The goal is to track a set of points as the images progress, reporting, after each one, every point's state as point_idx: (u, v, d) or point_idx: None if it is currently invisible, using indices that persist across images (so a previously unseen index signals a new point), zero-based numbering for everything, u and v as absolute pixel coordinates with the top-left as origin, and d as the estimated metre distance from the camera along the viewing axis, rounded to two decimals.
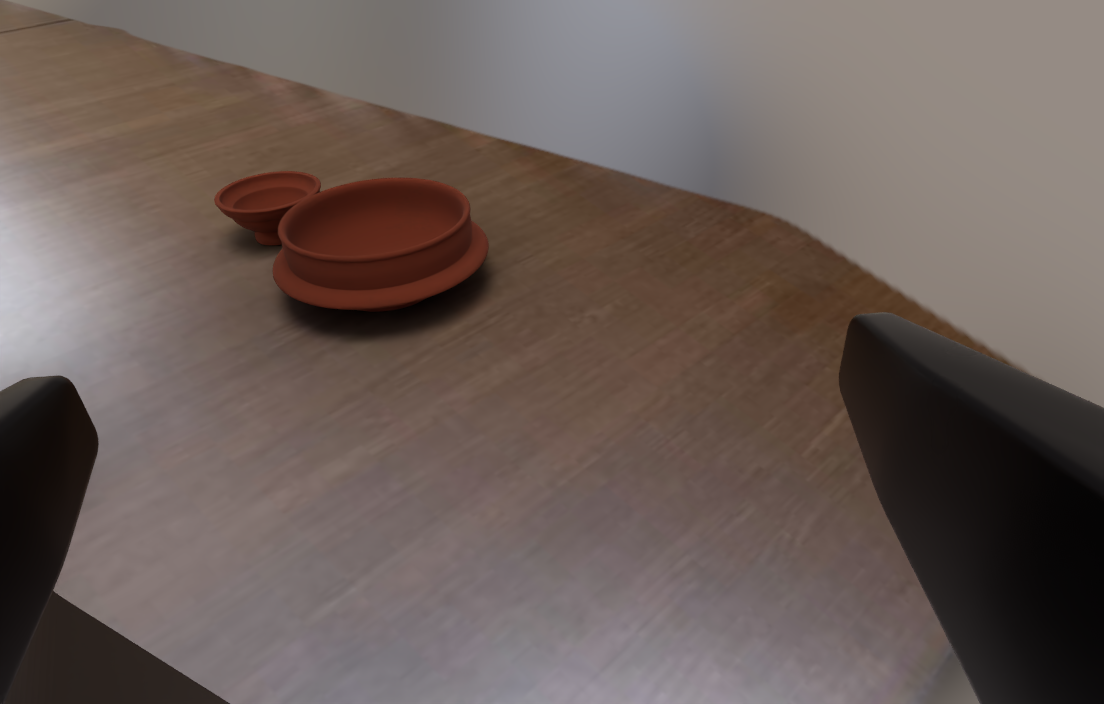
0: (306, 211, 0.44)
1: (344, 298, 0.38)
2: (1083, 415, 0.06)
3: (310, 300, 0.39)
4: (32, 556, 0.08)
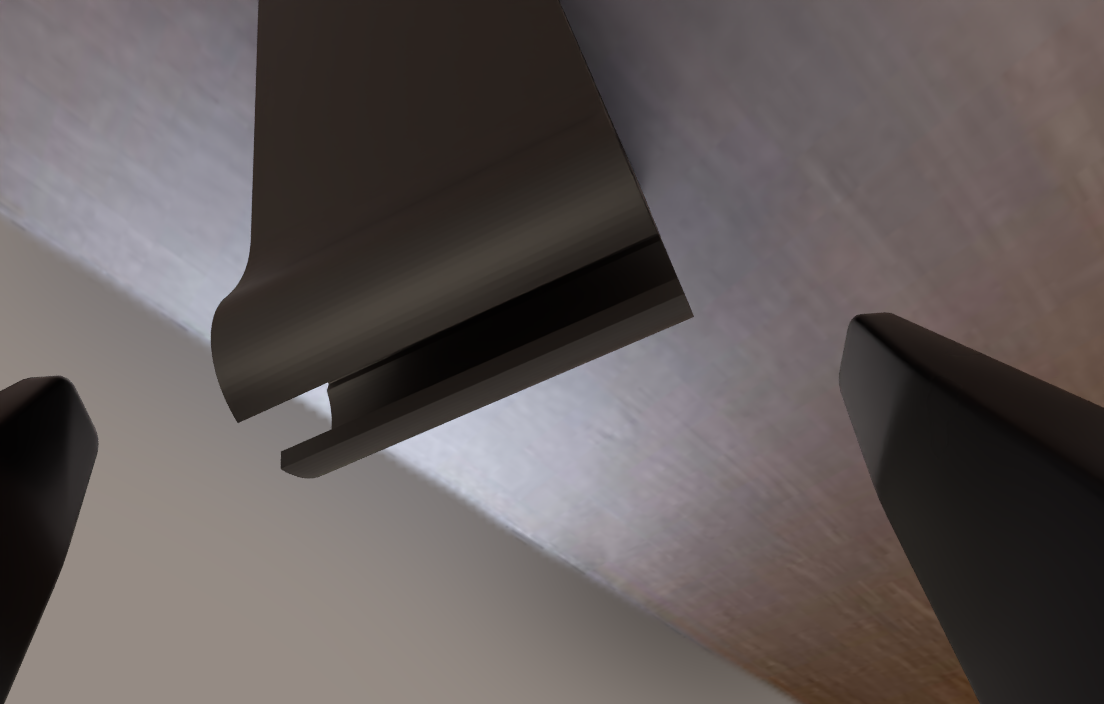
0: None
1: None
2: (1083, 415, 0.06)
3: None
4: (32, 556, 0.08)
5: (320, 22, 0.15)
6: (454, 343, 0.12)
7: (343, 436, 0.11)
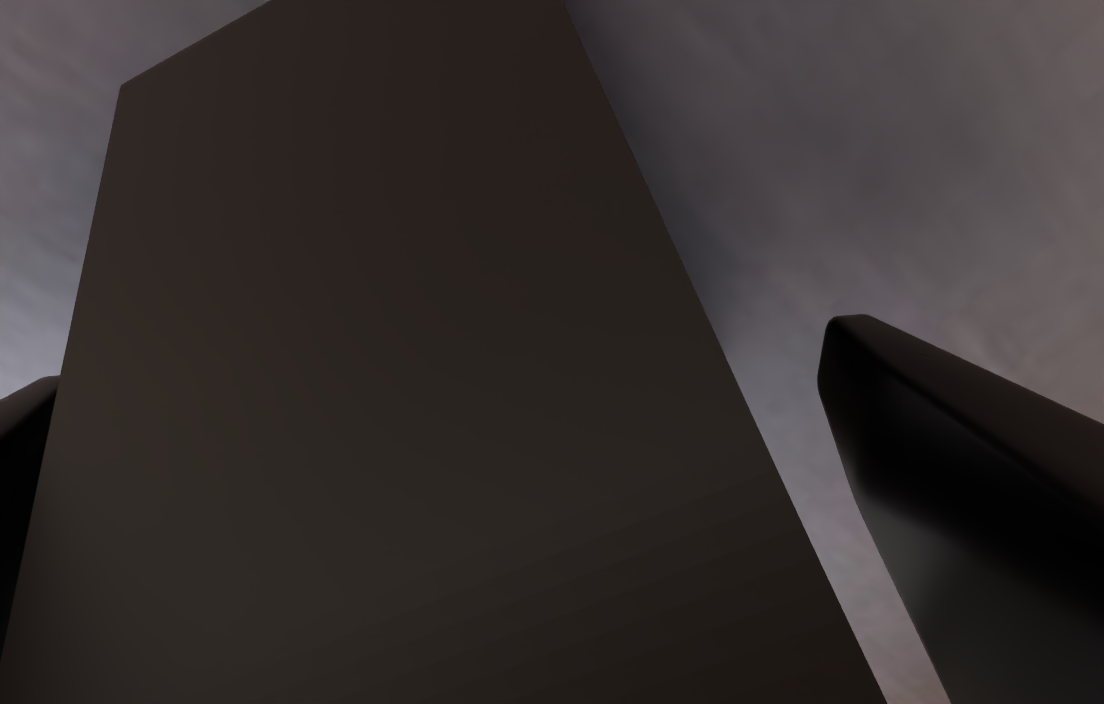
0: None
1: None
2: (1052, 417, 0.06)
3: None
4: None
5: (197, 186, 0.09)
6: None
7: None
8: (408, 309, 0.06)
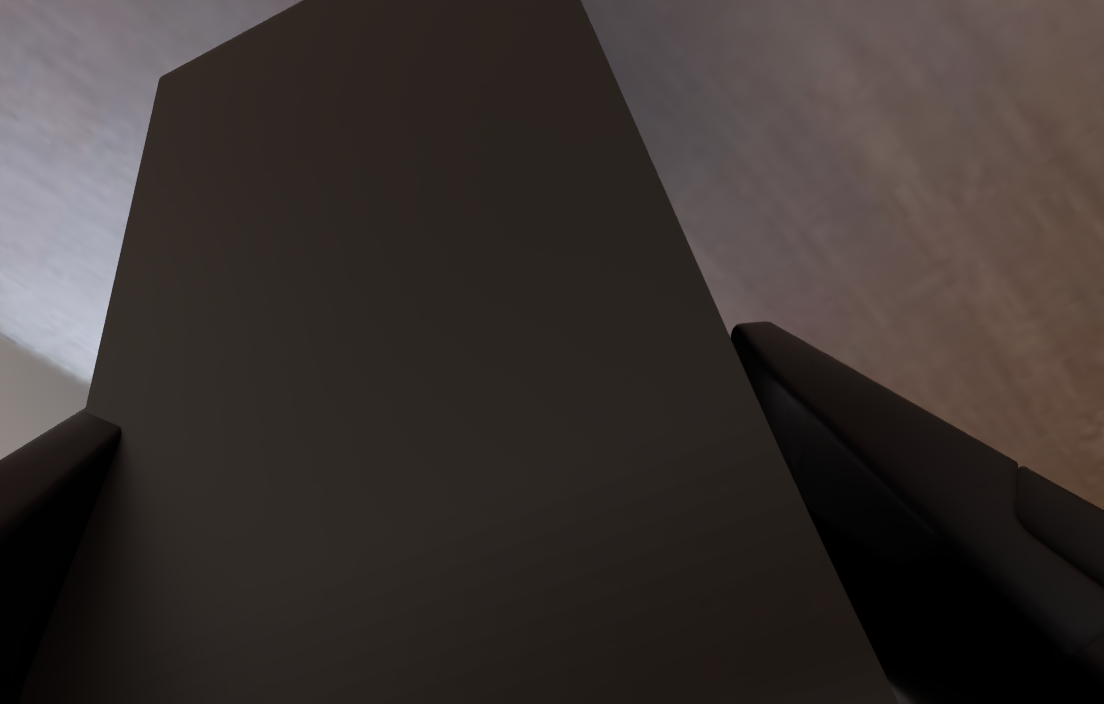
0: None
1: None
2: (920, 428, 0.06)
3: None
4: None
5: (233, 171, 0.09)
6: None
7: None
8: (430, 282, 0.07)
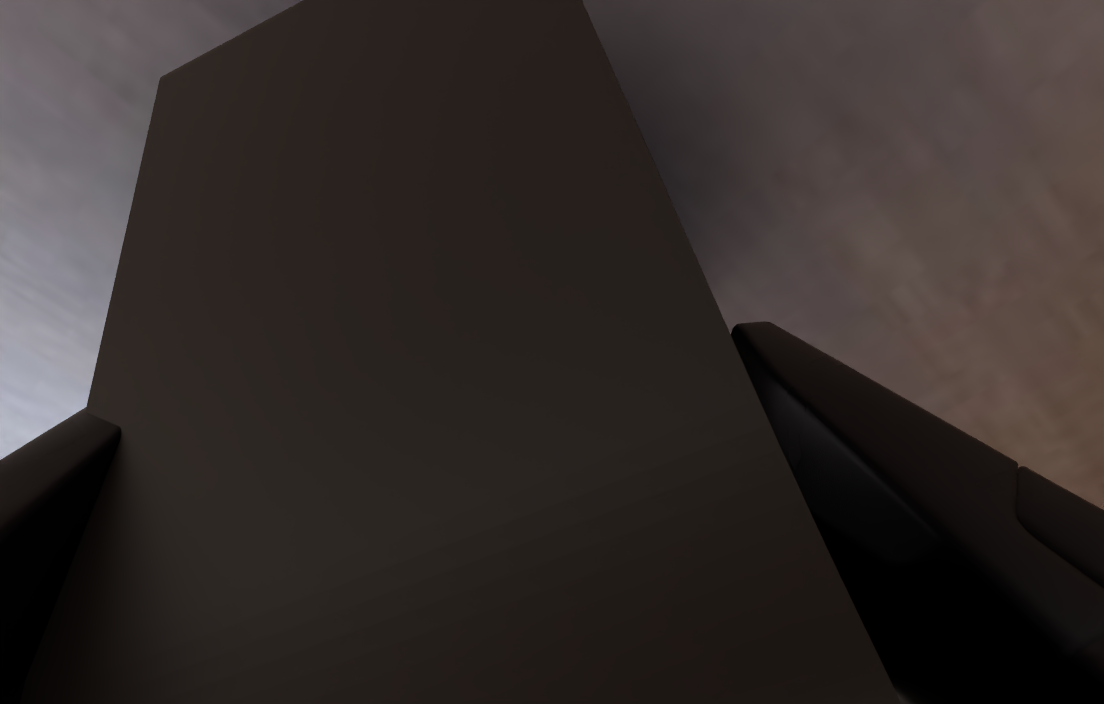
0: None
1: None
2: (920, 429, 0.06)
3: None
4: None
5: (233, 172, 0.09)
6: None
7: None
8: (431, 283, 0.07)
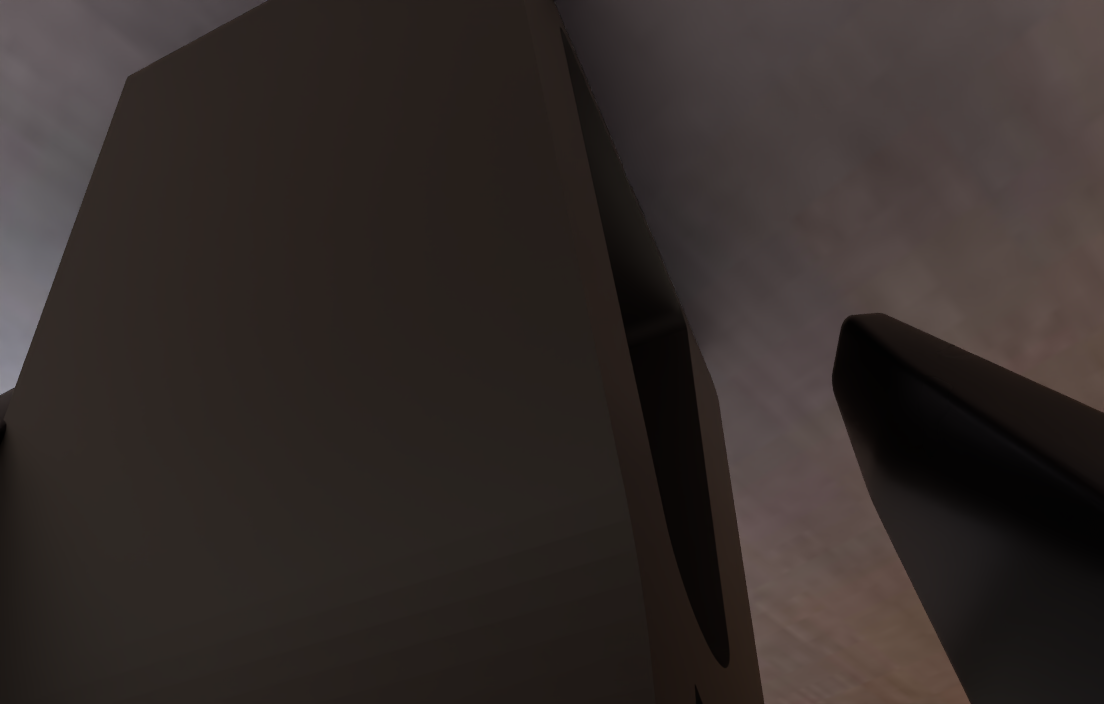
0: None
1: None
2: (1073, 416, 0.06)
3: None
4: None
5: (174, 182, 0.09)
6: None
7: None
8: (331, 321, 0.06)
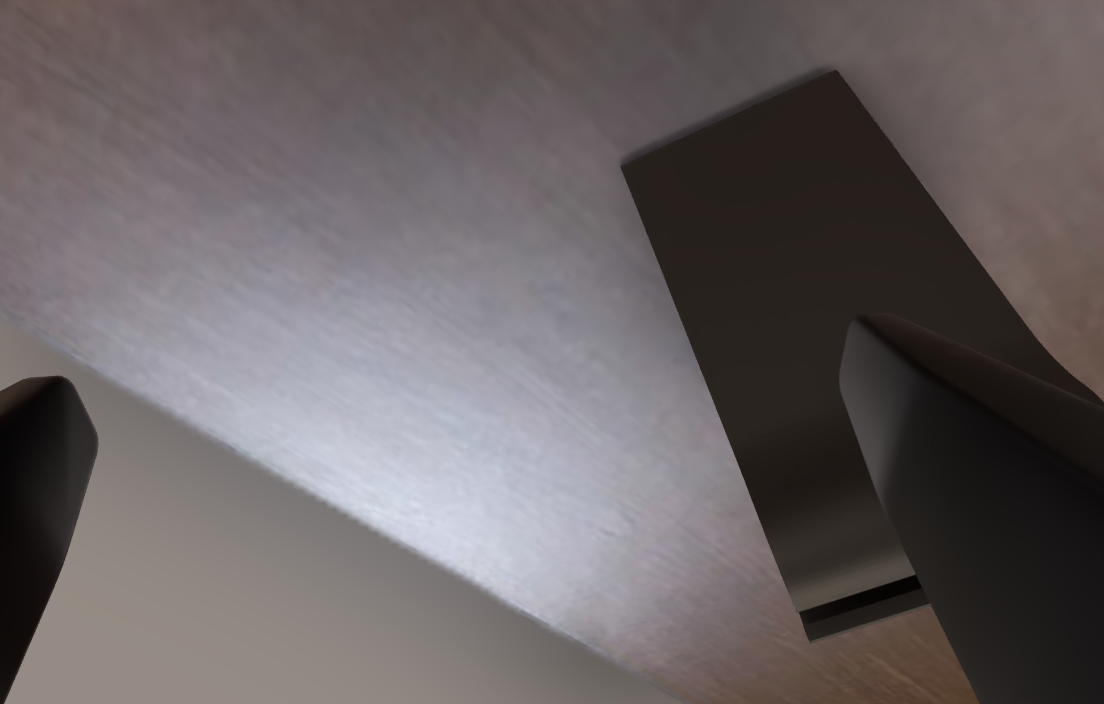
0: None
1: None
2: (1084, 415, 0.06)
3: None
4: (32, 556, 0.08)
5: (714, 228, 0.19)
6: None
7: (863, 618, 0.14)
8: (864, 284, 0.16)
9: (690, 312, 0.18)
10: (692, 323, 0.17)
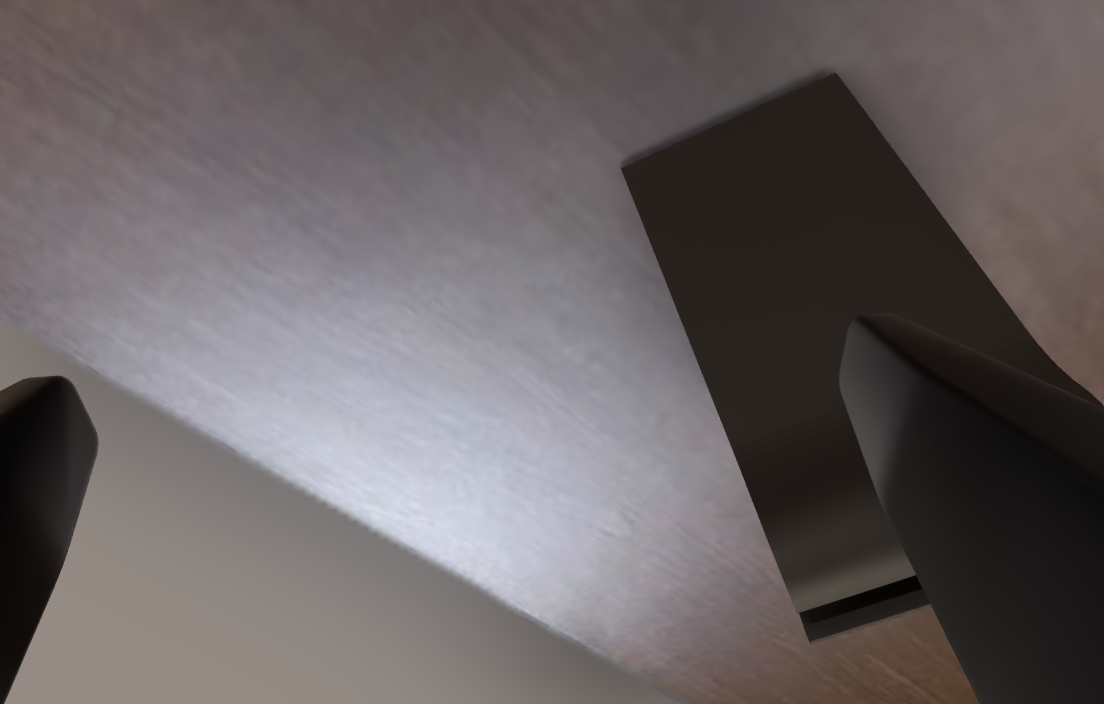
0: None
1: None
2: (1083, 415, 0.06)
3: None
4: (32, 556, 0.08)
5: (714, 230, 0.19)
6: None
7: (863, 620, 0.14)
8: (864, 287, 0.16)
9: (691, 314, 0.18)
10: (693, 325, 0.18)
